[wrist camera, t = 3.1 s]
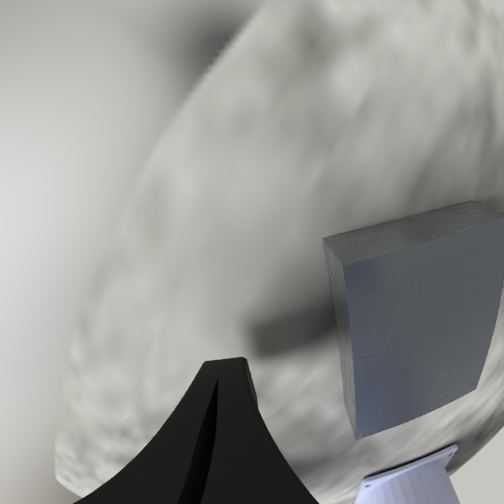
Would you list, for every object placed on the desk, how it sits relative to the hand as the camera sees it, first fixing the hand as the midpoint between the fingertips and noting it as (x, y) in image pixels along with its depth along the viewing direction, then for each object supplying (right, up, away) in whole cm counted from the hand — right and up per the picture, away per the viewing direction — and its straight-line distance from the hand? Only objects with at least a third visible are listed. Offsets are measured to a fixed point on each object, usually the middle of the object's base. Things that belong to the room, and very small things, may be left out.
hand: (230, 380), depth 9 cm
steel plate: (+7, +2, +1) cm, 7 cm away
